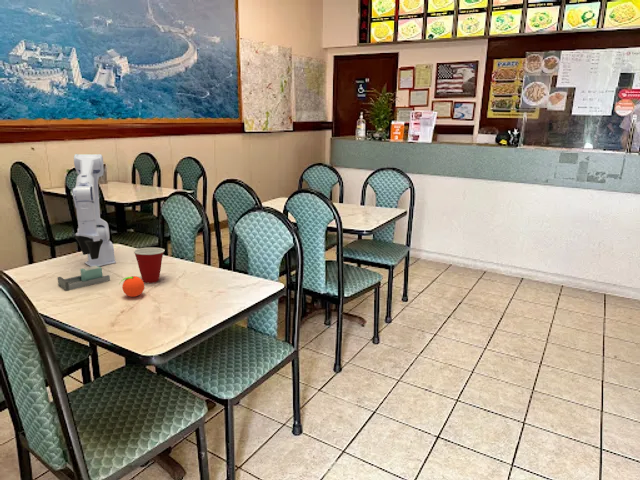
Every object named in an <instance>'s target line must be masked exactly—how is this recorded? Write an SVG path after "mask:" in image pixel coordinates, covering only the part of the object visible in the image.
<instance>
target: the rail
mask: <svg viewBox="0 0 640 480" xmlns="http://www.w3.org/2000/svg"><path fill="white" fill-rule="evenodd" d="M110 276H111V275H103V277H98V278H94V279H90V280H85V281H82V280H81V274H80V275H77V276H72V277H67V278H64V277H62V276H57V285H58V286H59V287H60V288H62V289H63V290H65V291H66V292H67V291H68V292H69V291H71V290H76V289H80V288H84V287H88V286H92V285H97V284H100V283H101V284H102V283H104V282H109V281H111V278H110Z"/></svg>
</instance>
